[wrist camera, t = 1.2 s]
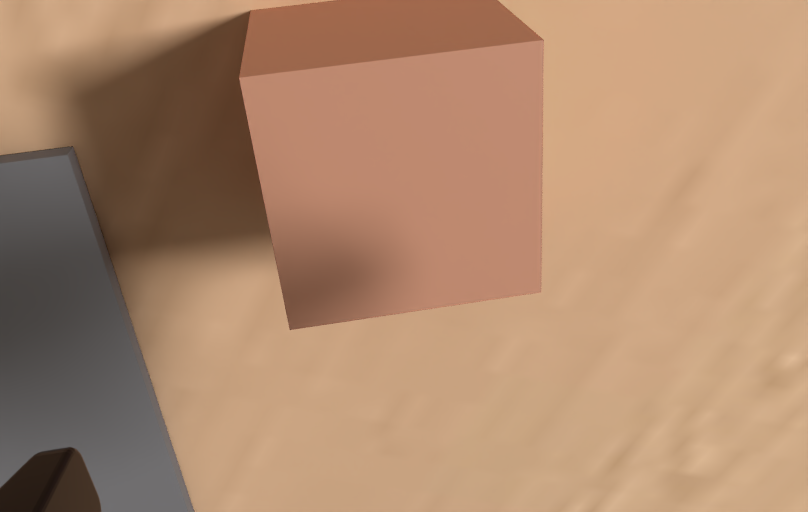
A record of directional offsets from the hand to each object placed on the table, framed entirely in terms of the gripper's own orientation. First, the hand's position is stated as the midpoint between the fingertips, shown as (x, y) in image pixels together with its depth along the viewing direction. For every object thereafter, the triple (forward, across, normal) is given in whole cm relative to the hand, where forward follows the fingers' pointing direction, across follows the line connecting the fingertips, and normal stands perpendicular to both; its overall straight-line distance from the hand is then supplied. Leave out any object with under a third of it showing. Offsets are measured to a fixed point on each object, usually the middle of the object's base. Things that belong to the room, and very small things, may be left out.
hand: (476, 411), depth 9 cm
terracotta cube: (+11, 0, 0) cm, 11 cm away
